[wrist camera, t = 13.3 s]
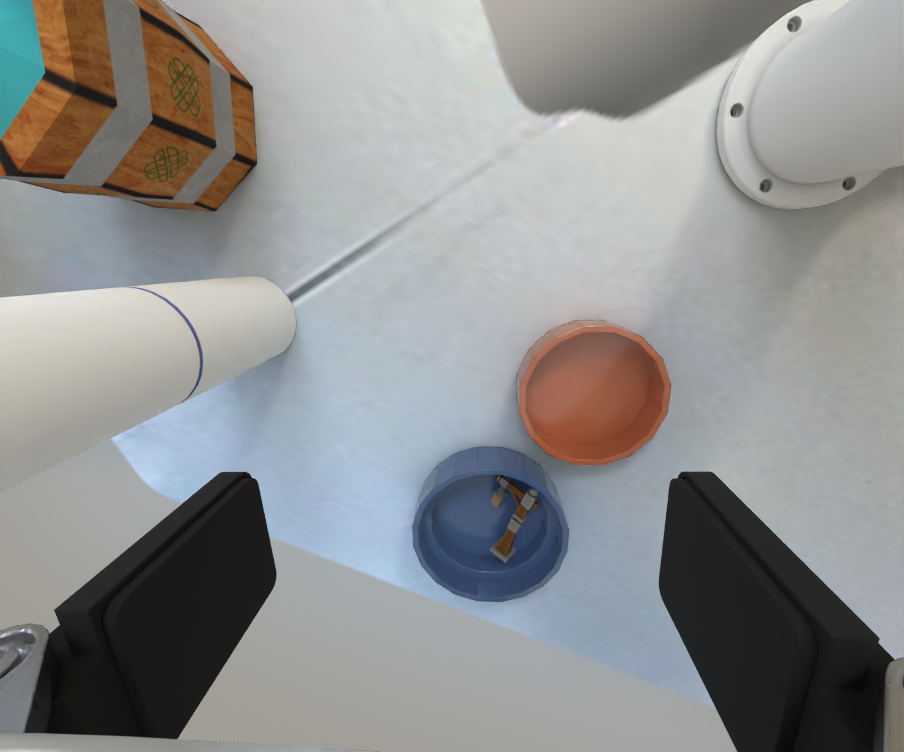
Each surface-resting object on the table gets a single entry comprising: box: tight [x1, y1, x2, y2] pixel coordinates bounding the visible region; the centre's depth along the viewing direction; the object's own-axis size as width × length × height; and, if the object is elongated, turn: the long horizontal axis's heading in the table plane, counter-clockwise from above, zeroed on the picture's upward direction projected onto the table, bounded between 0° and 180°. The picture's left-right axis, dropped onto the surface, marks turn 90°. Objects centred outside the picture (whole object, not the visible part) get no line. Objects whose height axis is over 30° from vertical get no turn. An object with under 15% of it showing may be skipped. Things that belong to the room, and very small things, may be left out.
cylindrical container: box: [0, 276, 296, 492], centre depth 24 cm, size 7×7×25 cm
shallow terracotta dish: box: [516, 320, 671, 465], centre depth 34 cm, size 11×11×3 cm
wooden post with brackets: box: [490, 475, 540, 563], centre depth 37 cm, size 2×8×4 cm
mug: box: [0, 0, 257, 211], centre depth 24 cm, size 20×14×15 cm
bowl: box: [412, 447, 569, 602], centre depth 37 cm, size 13×13×4 cm
